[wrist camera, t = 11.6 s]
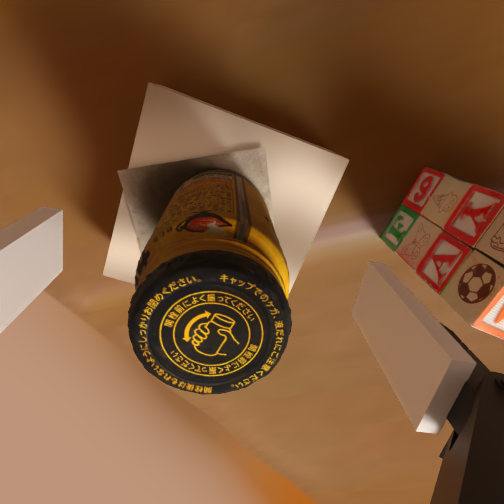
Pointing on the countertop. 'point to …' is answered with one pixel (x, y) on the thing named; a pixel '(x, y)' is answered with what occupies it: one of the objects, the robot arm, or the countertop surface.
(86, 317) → the countertop surface
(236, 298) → the condiment
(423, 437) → the countertop surface
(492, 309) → the stack of blocks
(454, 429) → the robot arm
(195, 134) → the birch block
